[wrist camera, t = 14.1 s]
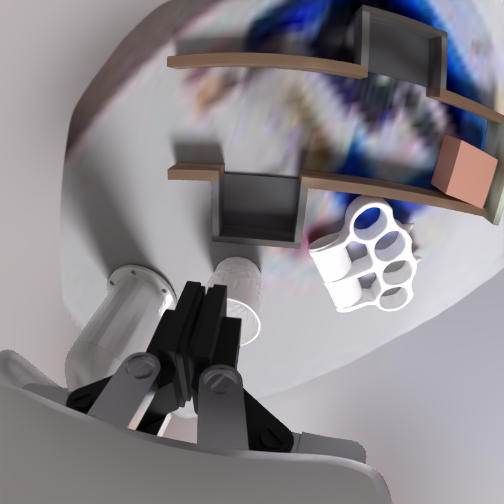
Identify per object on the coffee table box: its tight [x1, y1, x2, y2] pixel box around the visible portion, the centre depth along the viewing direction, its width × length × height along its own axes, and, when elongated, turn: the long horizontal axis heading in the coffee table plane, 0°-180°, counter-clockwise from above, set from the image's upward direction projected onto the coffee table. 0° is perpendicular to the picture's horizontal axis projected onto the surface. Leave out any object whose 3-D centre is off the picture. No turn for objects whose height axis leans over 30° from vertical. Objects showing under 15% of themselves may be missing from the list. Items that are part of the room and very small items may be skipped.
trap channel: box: [167, 5, 504, 249], centre depth 27 cm, size 30×42×6 cm
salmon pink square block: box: [431, 134, 498, 209], centre depth 28 cm, size 7×7×4 cm
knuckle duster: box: [308, 195, 422, 312], centre depth 37 cm, size 3×18×15 cm
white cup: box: [205, 256, 262, 346], centre depth 37 cm, size 8×8×10 cm
